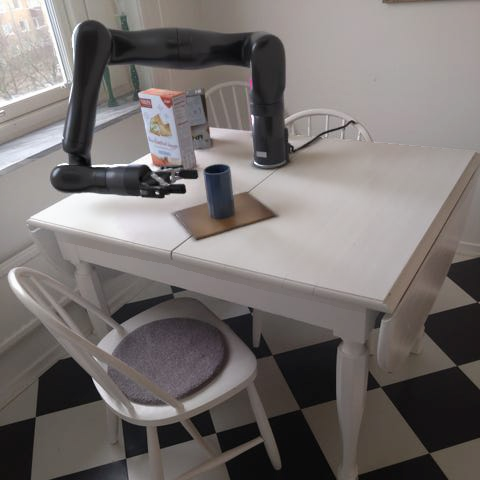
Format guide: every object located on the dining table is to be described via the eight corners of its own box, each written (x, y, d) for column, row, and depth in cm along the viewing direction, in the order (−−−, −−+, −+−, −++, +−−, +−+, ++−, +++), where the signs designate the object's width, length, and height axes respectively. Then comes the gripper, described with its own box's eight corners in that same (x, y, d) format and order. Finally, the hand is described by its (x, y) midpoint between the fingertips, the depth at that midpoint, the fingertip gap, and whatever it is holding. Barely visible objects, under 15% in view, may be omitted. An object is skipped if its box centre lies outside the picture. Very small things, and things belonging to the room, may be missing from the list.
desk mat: (246, 193, 128) (245, 191, 128) (274, 216, 116) (274, 214, 116) (173, 213, 122) (173, 212, 122) (196, 240, 111) (195, 238, 110)
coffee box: (211, 147, 159) (205, 94, 149) (192, 149, 159) (184, 96, 149) (210, 138, 166) (204, 87, 156) (191, 140, 166) (184, 89, 156)
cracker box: (151, 164, 151) (136, 92, 138) (166, 158, 155) (152, 86, 142) (183, 173, 143) (170, 96, 131) (197, 165, 147) (186, 91, 134)
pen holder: (228, 205, 122) (223, 161, 115) (239, 214, 117) (234, 169, 111) (205, 211, 120) (199, 168, 114) (215, 221, 116) (209, 176, 109)
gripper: (112, 176, 112) (178, 178, 108) (138, 154, 123) (199, 154, 119) (120, 207, 117) (183, 209, 113) (144, 183, 128) (203, 184, 123)
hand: (191, 181), depth 116 cm, fingers open, 8 cm apart
